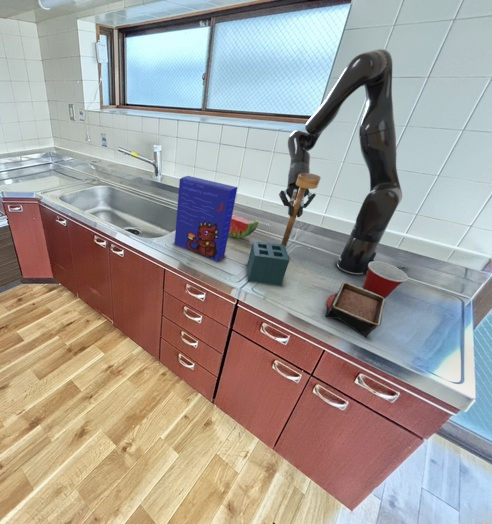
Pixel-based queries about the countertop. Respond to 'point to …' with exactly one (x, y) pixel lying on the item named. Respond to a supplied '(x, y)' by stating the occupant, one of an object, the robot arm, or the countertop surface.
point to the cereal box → (204, 216)
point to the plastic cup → (383, 278)
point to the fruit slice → (241, 227)
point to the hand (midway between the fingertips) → (295, 215)
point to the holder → (267, 263)
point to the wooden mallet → (300, 199)
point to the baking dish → (356, 308)
